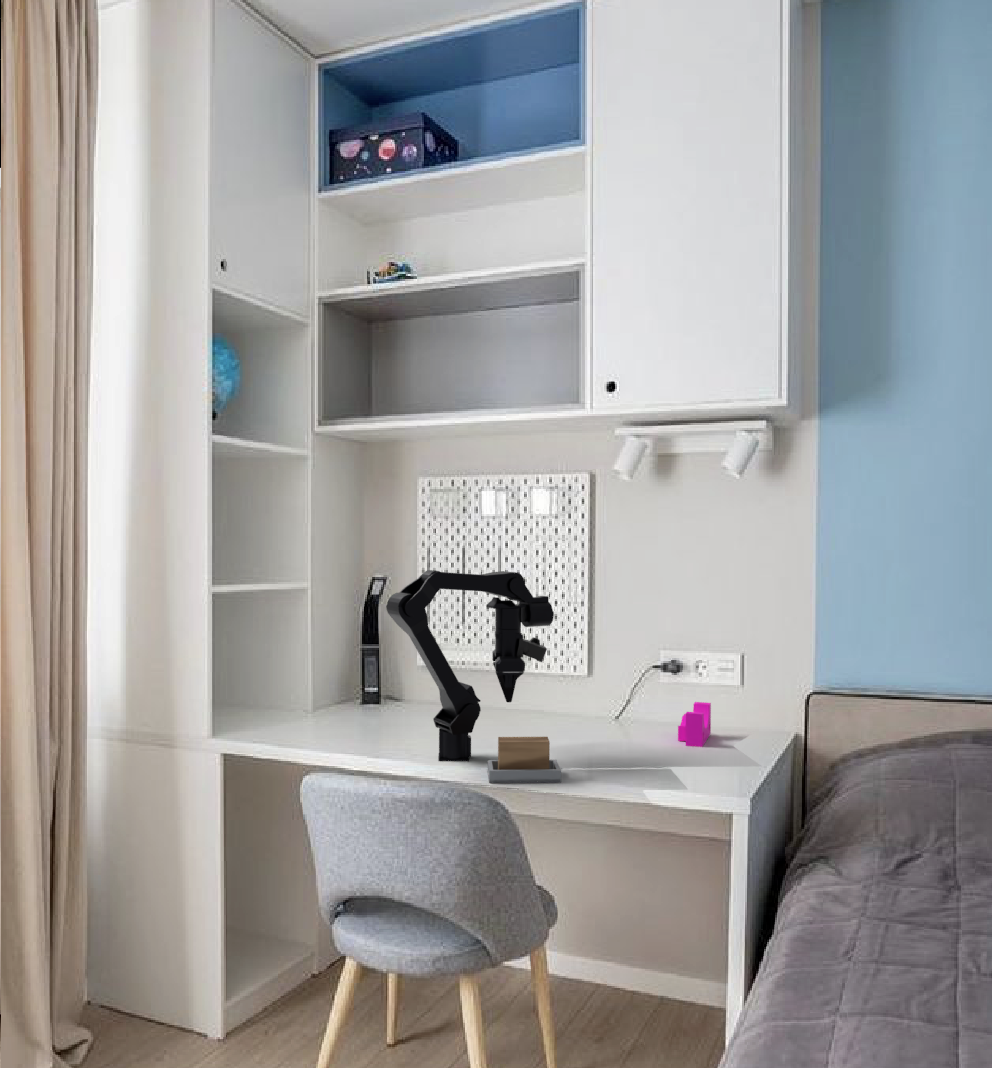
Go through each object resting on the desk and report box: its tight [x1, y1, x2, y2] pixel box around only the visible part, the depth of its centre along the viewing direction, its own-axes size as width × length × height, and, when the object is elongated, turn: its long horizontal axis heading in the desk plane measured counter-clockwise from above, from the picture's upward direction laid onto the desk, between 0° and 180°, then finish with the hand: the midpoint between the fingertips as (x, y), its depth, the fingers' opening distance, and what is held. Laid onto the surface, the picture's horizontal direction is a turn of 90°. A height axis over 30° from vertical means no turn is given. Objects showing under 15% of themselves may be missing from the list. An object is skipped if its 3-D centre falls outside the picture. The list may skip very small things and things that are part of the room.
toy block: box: [677, 701, 712, 748], centre depth 233 cm, size 15×6×8 cm, turn 160°
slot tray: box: [487, 759, 562, 784], centre depth 197 cm, size 14×9×2 cm, turn 93°
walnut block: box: [497, 736, 551, 770], centre depth 197 cm, size 4×10×7 cm, turn 92°
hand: (507, 698), depth 217 cm, fingers open, 9 cm apart
